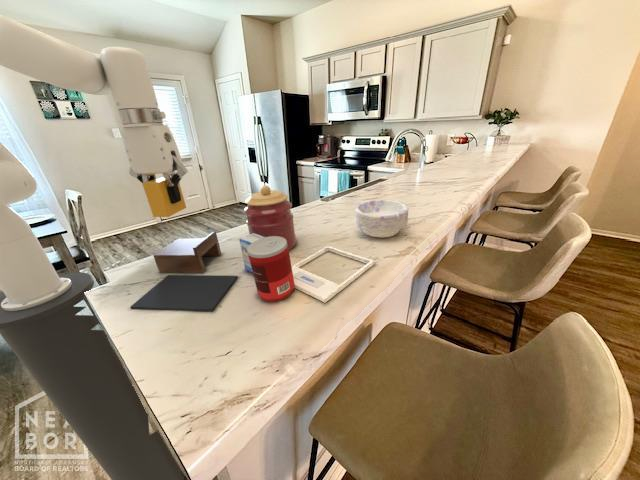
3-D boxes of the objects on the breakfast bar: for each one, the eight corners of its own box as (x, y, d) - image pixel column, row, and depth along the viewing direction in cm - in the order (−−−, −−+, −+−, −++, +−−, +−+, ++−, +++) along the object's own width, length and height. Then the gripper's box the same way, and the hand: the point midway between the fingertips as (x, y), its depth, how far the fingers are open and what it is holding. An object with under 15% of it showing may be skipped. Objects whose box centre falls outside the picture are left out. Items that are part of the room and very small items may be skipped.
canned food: (298, 279, 59) (291, 235, 54) (289, 303, 52) (279, 255, 47) (266, 279, 60) (256, 236, 55) (252, 302, 53) (240, 255, 48)
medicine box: (245, 270, 65) (237, 238, 61) (259, 262, 68) (253, 231, 64) (265, 280, 60) (258, 246, 56) (279, 271, 63) (274, 239, 59)
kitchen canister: (284, 233, 85) (276, 178, 77) (305, 246, 75) (298, 184, 67) (245, 245, 78) (232, 186, 71) (262, 261, 68) (249, 195, 61)
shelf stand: (159, 272, 67) (150, 248, 64) (182, 254, 76) (175, 232, 73) (203, 272, 65) (195, 247, 62) (221, 254, 74) (215, 231, 71)
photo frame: (276, 274, 60) (327, 245, 71) (276, 278, 60) (327, 248, 72) (324, 298, 50) (374, 260, 62) (325, 302, 51) (374, 264, 63)
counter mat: (131, 309, 54) (129, 306, 54) (168, 277, 65) (167, 275, 64) (212, 311, 51) (212, 309, 51) (237, 277, 62) (237, 275, 62)
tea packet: (153, 217, 62) (141, 183, 58) (172, 208, 68) (162, 176, 65) (168, 216, 61) (158, 182, 58) (186, 207, 68) (177, 176, 64)
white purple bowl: (392, 247, 70) (393, 219, 67) (345, 235, 80) (344, 210, 76) (415, 228, 81) (417, 203, 77) (371, 219, 90) (372, 197, 87)
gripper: (188, 116, 58) (207, 197, 66) (121, 121, 61) (147, 198, 68) (166, 116, 52) (190, 206, 59) (92, 121, 54) (124, 207, 61)
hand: (167, 201), depth 64 cm, fingers closed on tea packet, 4 cm apart
